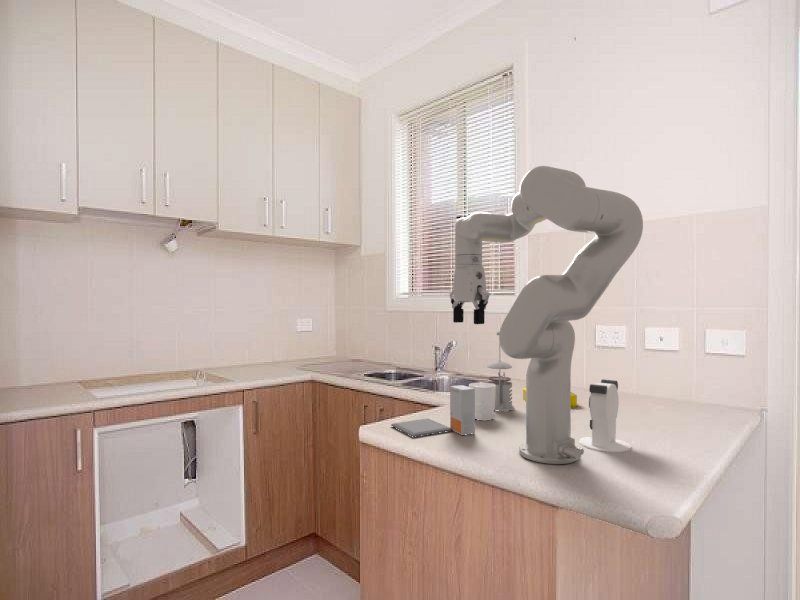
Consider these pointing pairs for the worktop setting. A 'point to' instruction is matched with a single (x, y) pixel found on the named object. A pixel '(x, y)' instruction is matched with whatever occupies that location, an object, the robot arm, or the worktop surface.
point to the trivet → (421, 427)
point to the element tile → (572, 397)
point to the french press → (501, 386)
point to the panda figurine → (604, 418)
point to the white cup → (484, 400)
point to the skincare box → (462, 409)
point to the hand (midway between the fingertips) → (468, 323)
